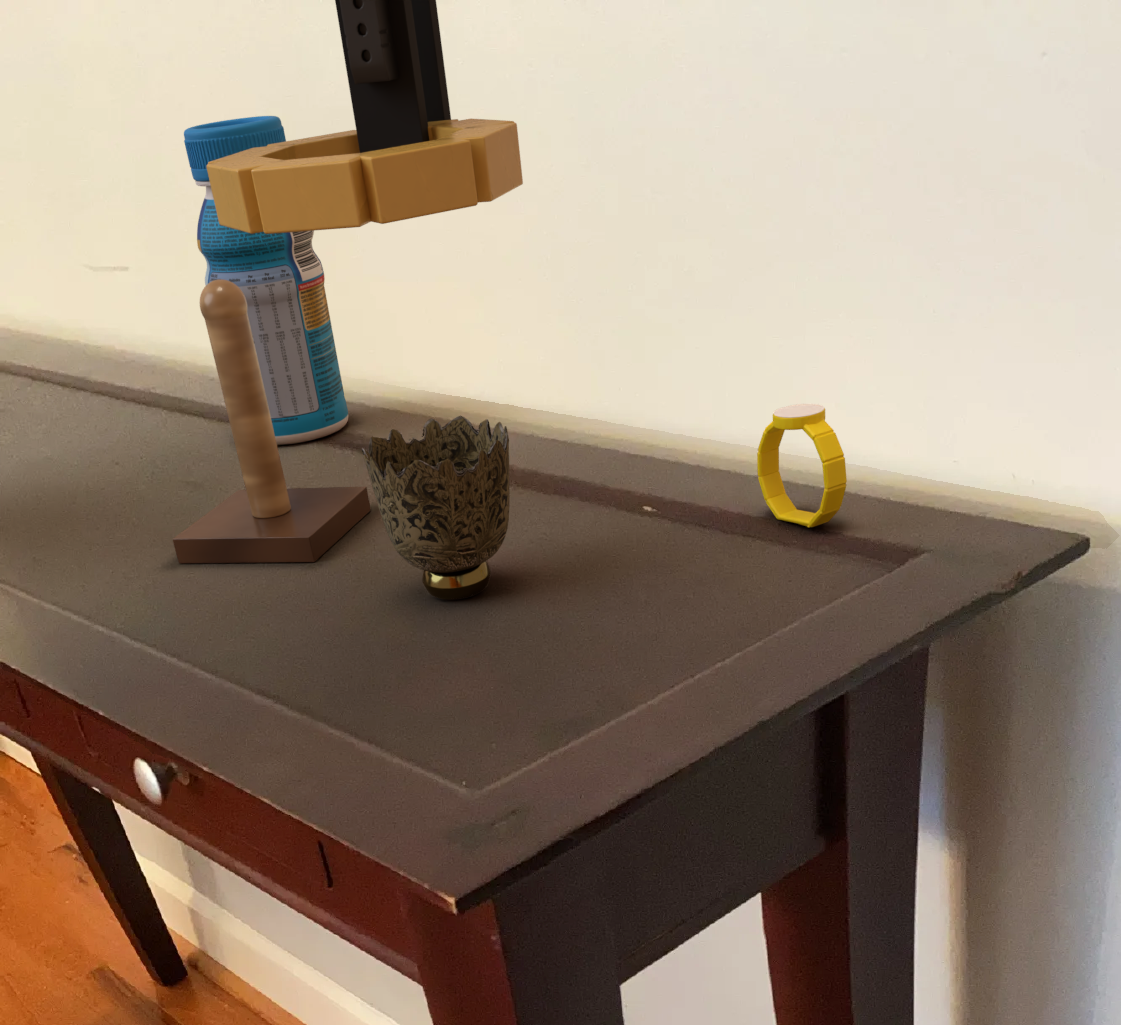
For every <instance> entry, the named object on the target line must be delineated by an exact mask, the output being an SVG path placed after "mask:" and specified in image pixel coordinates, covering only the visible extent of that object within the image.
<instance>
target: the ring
mask: <svg viewBox="0 0 1121 1025" xmlns="http://www.w3.org/2000/svg"><path fill="white" fill-rule="evenodd" d="M428 133H429V141H426V142H420V143H415V144H409V145H403V146H398V147H392V148H386V149H381V150H375V151H369V152H364V153H360V150H359V144H358V137H357V131H356V129H351V130H350V129H349V130H345V131H344V130H343V131H338V132H333V133H328V134H322V135H321V134H320V135H315V136H310V137H303V138H297V139H292V140H286V142H280V143H274V144H268V145H267V146H266V147H255V148H251V149H248V150H245V151H241V152H238V153H235V154H232V155H229V156H226V157H223V158H220V159H216V160H213V161H210V162H208V165H207V172H208V176H209V180H210V185H211V189H212V194H213V198H214V203H215V207H216V211H217V216H218V220H219V224H220V225H222V226H226V227H229V228H233V229H236V230H240V231H244V232H247V233H251V234H254V233H259V232H264V233H266V234H274V233H287V232H301V231H314V232H315V231H326V230H338V229H339V230H340V229H352V228H361V227H363V226H365V225H367V224H370V223H376V224H380V225H385V224H390V223H395V222H399V221H405V220H410V219H416V218H420V217H426V216H430V215H435V214H440V213H446V212H451V211H456V210H461V209H465V208H471V207H476V206H477V205H479V204H480V203H489V202H493V201H494V200H496V199H498V198H500V197H501V196H504V195H505V194H507V193H509V192H511V191H513V190H515V189H517V188H518V187H520V186H522V185H524V181H523V170H522V161H521V153H520V152H521V151H520V142H519V133H518V124H517V122H515V121H514V120H503V119H502V120H501V119H484V118H465V119H460V120H459V119H458V118H454V119H451V120H443V121H432V122H428ZM478 203H479V204H478Z"/></svg>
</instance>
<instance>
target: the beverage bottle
mask: <svg viewBox="0 0 1121 1025" xmlns="http://www.w3.org/2000/svg"><path fill="white" fill-rule="evenodd" d="M183 138H184V141H183V143H184V145H185V151H186V156H187V160H188V164H189V168H190V172H191V175H192V178H193V180H194V181H195V185H196V186H198V187H205V196H204V198H203V201H202V205H201V208H200V212H199V216H198V221H197V226H196V227H197V230H196V241H197V242H196V243H197V244H196V245H197V249H198V251H199V252H200V253H201V255H202V256H203V257H204V259H205V262H206V270H205V275H204V285H205V286H206V285H207V284H208V283H210V282H212V281H214V280H218V279H224V280H228V281H231V282H233V283H234V284H236V285H237V286H238V287H239V288H240V289H241V291H242V292H243V294H244V296H245V298H246V301H247V314H248V318H249V323H250V327H251V332H252V336H253V340H254V345H255V349H256V354H257V358H258V363H259V367H260V372H261V376H262V380H263V385H264V389H265V394H266V398H267V403H268V407H269V412H270V416H271V421H272V425H273V429H274V434H275V438H276V443H277V446H281V445H282V446H284V445H292V444H299V443H305V442H309V441H315V440H317V439H321V438H324V437H327V436H330V435H332V434H334V433H337V432H338V431H340V430H342V428H344V427H345V426H346V425H347V422H348V421H349V416H350V415H349V409H348V404H347V399H346V397H345V391H344V386H343V380H342V376H341V370H340V364H339V360H338V353H337V348H336V344H335V337H334V332H333V326H332V321H331V316H330V310H329V304H328V300H327V294H326V288H325V272H324V267H323V264H322V261H321V259H320V258H319V256H318V255H317V253H316V252H315V251H314V250H315V249H314V248H313V238H314V234H315V230H314V231H301V232H287V233H274V234H266V233H264V232H259V233H254V234H251V233H247V232H244V231H240V230H236V229H233V228H229V227H226V226H222V225H220V224H219V220H218V216H217V211H216V207H215V203H214V198H213V194H212V189H211V185H210V180H209V176H208V172H207V165H208V162H210V161H213V160H216V159H220V158H223V157H226V156H229V155H232V154H235V153H238V152H241V151H245V150H248V149H251V148H255V147H266V146H267V145H268V144H274V143H280V142H286V141H287V138H286V134H285V129H284V126H283V123H282V120H281V118H280V117H279V116H276V115H259V116H249V117H248V116H247V117H242V118H232V119H226V120H225V119H224V120H219V121H214V122H208V123H207V122H206V123H202V124H199V125H193V126H190V127H188V128H186V129H185V130H184V131H183Z"/></svg>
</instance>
